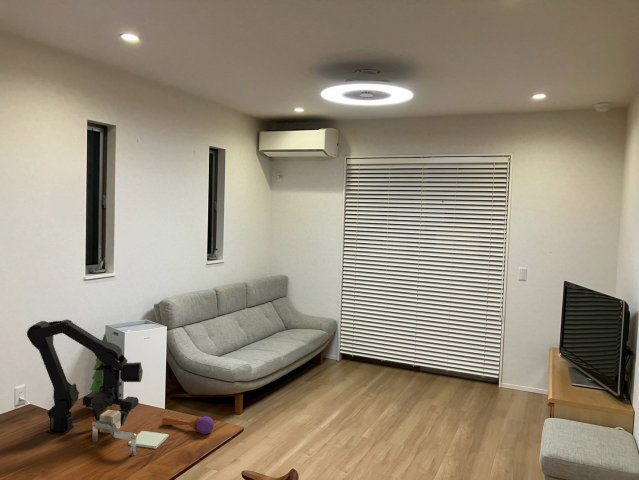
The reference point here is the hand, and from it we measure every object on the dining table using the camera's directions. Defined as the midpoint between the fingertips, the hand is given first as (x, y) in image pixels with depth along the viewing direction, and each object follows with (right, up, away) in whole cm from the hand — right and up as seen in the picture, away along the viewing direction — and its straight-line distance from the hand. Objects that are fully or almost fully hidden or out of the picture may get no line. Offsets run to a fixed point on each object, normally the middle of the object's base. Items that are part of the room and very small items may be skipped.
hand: (110, 424), depth 181 cm
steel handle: (+6, -3, -12) cm, 14 cm away
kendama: (+27, -3, +4) cm, 27 cm away
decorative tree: (-11, 0, +19) cm, 22 cm away
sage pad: (+16, -3, -7) cm, 18 cm away
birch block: (0, -2, 0) cm, 2 cm away
